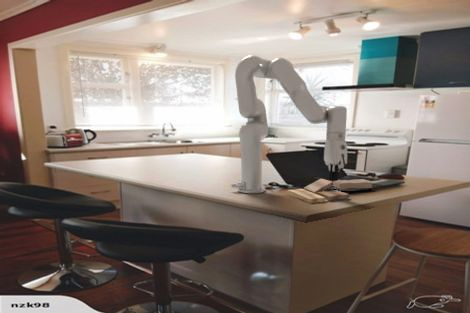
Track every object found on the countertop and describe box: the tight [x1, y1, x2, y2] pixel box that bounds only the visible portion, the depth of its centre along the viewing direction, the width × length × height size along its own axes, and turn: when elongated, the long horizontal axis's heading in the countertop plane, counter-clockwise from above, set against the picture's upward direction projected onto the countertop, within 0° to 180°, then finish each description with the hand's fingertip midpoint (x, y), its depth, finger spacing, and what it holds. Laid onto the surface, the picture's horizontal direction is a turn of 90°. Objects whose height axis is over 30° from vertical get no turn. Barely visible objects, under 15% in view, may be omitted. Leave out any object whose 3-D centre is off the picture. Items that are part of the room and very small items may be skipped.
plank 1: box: [302, 178, 334, 194], centre depth 154 cm, size 10×9×2 cm
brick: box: [332, 178, 373, 189], centre depth 162 cm, size 17×8×5 cm, turn 103°
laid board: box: [286, 188, 328, 204], centre depth 147 cm, size 8×18×2 cm, turn 20°
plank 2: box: [316, 189, 350, 200], centre depth 146 cm, size 10×9×2 cm
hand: (333, 180), depth 146 cm, fingers closed
